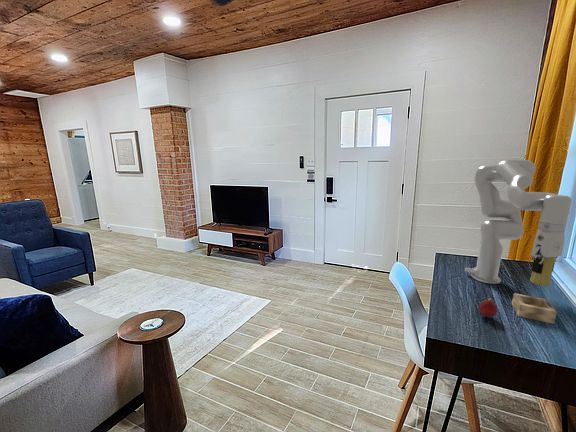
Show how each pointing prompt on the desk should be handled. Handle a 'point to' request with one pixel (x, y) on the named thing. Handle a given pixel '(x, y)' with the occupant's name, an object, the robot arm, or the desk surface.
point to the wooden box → (534, 308)
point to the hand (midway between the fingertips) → (542, 271)
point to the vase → (543, 273)
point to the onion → (488, 308)
